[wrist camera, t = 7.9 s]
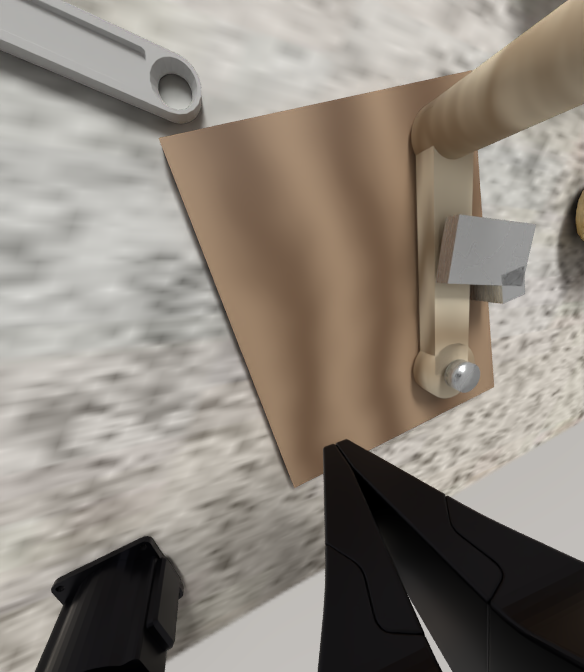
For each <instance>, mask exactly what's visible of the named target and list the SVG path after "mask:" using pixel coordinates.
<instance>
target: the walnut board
mask: <svg viewBox="0 0 584 672" xmlns="http://www.w3.org/2000/svg"><path fill="white" fill-rule="evenodd" d="M471 72H472V70H471V71H466V72H462V73H457V74H452V75H448V76H443V77H439V78H434V79H429V80H425V81H420V82H415V83H411V84H406V85H402V86H397V87H392V88H388V89H383V90H378V91H374V92H369V93H365V94H360V95H355V96H351V97H346V98H341V99H337V100H332V101H328V102H323V103H318V104H314V105H309V106H304V107H300V108H295V109H291V110H286V111H281V112H277V113H272V114H267V115H263V116H258V117H254V118H249V119H244V120H240V121H235V122H230V123H226V124H221V125H217V126H212V127H207V128H203V129H198V130H193V131H189V132H184V133H180V134H175V135H170V136H166V137H161V138H159V140H160V143H161V146H162V148H163V151H164V153H165V156H166V158H167V161H168V164H169V166H170V169H171V171H172V174H173V177H174V179H175V182H176V184H177V187H178V189H179V192H180V195H181V197H182V200H183V202H184V205H185V207H186V210H187V213H188V215H189V218H190V220H191V223H192V226H193V228H194V231H195V233H196V236H197V238H198V241H199V244H200V246H201V249H202V251H203V254H204V256H205V259H206V262H207V264H208V267H209V269H210V272H211V275H212V277H213V280H214V282H215V285H216V287H217V290H218V293H219V295H220V298H221V300H222V303H223V305H224V308H225V311H226V313H227V316H228V318H229V321H230V323H231V326H232V329H233V331H234V334H235V336H236V339H237V342H238V344H239V347H240V349H241V352H242V354H243V357H244V360H245V362H246V365H247V367H248V370H249V372H250V375H251V378H252V380H253V383H254V385H255V388H256V391H257V393H258V396H259V398H260V401H261V403H262V406H263V409H264V411H265V414H266V416H267V419H268V421H269V424H270V427H271V429H272V432H273V434H274V437H275V440H276V442H277V445H278V447H279V450H280V452H281V455H282V458H283V460H284V463H285V465H286V468H287V470H288V473H289V476H290V478H291V481H292V483H293V486H294V488H295V487H297V486H299V485H301V484H303V483H305V482H307V481H309V480H311V479H313V478H315V477H317V476H319V475H321V474H323V447H325V446H328V445H330V444H336V442H339V441H342V440H344V439H348V440H350V441H352V442H354V443H355V444H357V445H359V446H361V447H362V448H364V449H366V450H370V449H372V448H374V447H376V446H378V445H380V444H382V443H384V442H386V441H388V440H390V439H392V438H394V437H396V436H398V435H400V434H402V433H404V432H406V431H408V430H410V429H412V428H414V427H416V426H418V425H420V424H422V423H424V422H426V421H428V420H430V419H432V418H434V417H436V416H438V415H439V414H441V413H443V412H445V411H447V410H449V409H451V408H453V407H455V406H457V405H459V404H461V403H463V402H465V401H467V400H469V399H471V398H473V397H475V396H477V395H479V394H481V393H483V392H485V391H487V390H489V389H491V388H493V387H494V379H493V365H492V350H491V336H490V322H489V307H488V302H485V301H476V300H469V334H468V347H469V348H470V349H471V351H472V353H473V355H474V359H475V364H476V365H477V366H478V367H479V369H480V379H479V381H478V383H477V385H476V386H475V387H474V388H473V389H472V390H471V391H469V392H466V393H462V392H460V393H459V394H457V395H455V396H453V397H450V398H439V397H437V396H435V395H433V394H432V393H430V392H428V391H426V390H424V389H423V388H421V387H420V386H419V385H418V384H417V383H416V381H415V378H414V373H413V368H414V363H415V360H416V357H417V355H418V353H419V352H420V314H419V272H418V230H417V188H416V155H415V153H414V150H413V147H412V141H411V132H412V126H413V123H414V120H415V118H416V116H417V114H418V113H419V112H420V110H421V109H422V108H424V107H425V106H426V105H428V104H429V103H430V102H432V101H433V100H434V99H436V98H437V97H438V96H440V95H441V94H442V93H444V92H445V91H446V90H448V89H449V88H451V87H452V86H453V85H455V84H456V83H457V82H459V81H460V80H461V79H463V78H464V77H465V76H467V75H468V74H469V73H471ZM472 216H476V217H482V207H481V193H480V178H479V164H478V150H477V151H474V156H473V191H472Z"/></svg>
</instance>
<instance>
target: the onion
mask: <svg viewBox="0 0 584 672" xmlns="http://www.w3.org/2000/svg"><path fill="white" fill-rule="evenodd" d="M576 228H577V233H578V235H579V236H580V238H581V239H582V240H583V241H584V190H583V191H582V194H581V196H580V198H579V200H578V204H577V209H576Z"/></svg>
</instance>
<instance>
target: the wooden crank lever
mask: <svg viewBox="0 0 584 672" xmlns="http://www.w3.org/2000/svg"><path fill="white" fill-rule="evenodd" d="M582 104H584V0H568V1H566V2H565V3H563V4H562V5H561V6H559V7H558V8H557V9H555V10H554V11H553V12H551V13H550V14H549V15H547V16H546V17H545V18H543V19H542V20H541V21H539V22H538V23H537V24H535V25H534V26H533V27H531V28H530V29H529V30H527V31H526V32H524V33H523V34H522V35H520V36H519V37H518V38H516V39H515V40H514V41H512V42H511V43H510V44H508V45H507V46H506V47H504V48H503V49H502V50H500V51H499V52H498V53H496V54H495V55H494V56H492V57H491V58H490V59H488V60H487V61H485V62H484V63H483V64H481V65H480V66H479V67H477V68H476V69H475V70H473V71H472V72H471V73H469V74H468V75H467V76H465V77H464V78H463V79H461V80H460V81H459V82H457V83H456V84H455V85H453V86H452V87H451V88H449V89H448V90H446V91H445V92H444V93H442V94H441V95H440V96H438V97H437V98H436V99H434V100H433V101H432V102H430V103H429V104H428V105H426V106H425V107H424V108H422V109H421V110H420V112H419V113H418V114H417V116H416V118H415V120H414V123H413V126H412V132H411V141H412V147H413V150H414V153H415V155H416V188H417V230H418V272H419V314H420V352H419V353H418V355H417V357H416V360H415V363H414V368H413V373H414V378H415V381H416V383H417V384H418V385H419V386H420V387H421V388H423V389H424V390H426V391H428V392H430V393H432V394H433V395H435V396H437V397H439V398H450V397H453V396H455V395H457V394H459V393H460V391H458V390H456V389H453V388H451V387H449V386H448V385H447V384H446V383H445V380H444V374H445V370H446V368H447V367H448V365H449V364H450V363H451V362H452V361H454V360H457V359H462V360H465V361H468V362H471V363H473V364H475V359H474V355H473V353H472V351H471V349H470V348H469V347H468V334H469V298H470V284H447V283H435V282H436V276H437V270H438V263H439V257H440V251H441V244H442V238H443V232H444V225H445V219H446V217H450V216H454V215H459V214H460V215H468V216H472V191H473V156H474V151H477V150H479V149H481V148H483V147H486V146H488V145H490V144H493V143H495V142H497V141H499V140H502V139H504V138H506V137H509V136H511V135H513V134H515V133H518V132H520V131H522V130H525V129H527V128H529V127H531V126H534V125H536V124H538V123H541V122H543V121H545V120H547V119H550V118H552V117H554V116H557V115H559V114H561V113H563V112H566V111H568V110H570V109H573V108H575V107H577V106H579V105H582Z"/></svg>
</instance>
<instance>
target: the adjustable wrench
mask: <svg viewBox="0 0 584 672" xmlns="http://www.w3.org/2000/svg"><path fill="white" fill-rule="evenodd" d="M0 50H1V51H4V52H6V53H8V54H11V55H13V56H16V57H18V58H20V59H23V60H25V61H28V62H30V63H32V64H35V65H37V66H39V67H42V68H44V69H47V70H49V71H51V72H54V73H56V74H59V75H61V76H63V77H66V78H68V79H71V80H73V81H75V82H78V83H80V84H83V85H85V86H87V87H90V88H92V89H95V90H97V91H99V92H102V93H104V94H107V95H109V96H111V97H114V98H116V99H119V100H121V101H123V102H126V103H128V104H131V105H133V106H135V107H138V108H140V109H143V110H145V111H147V112H150V113H152V114H155V115H157V116H159V117H162V118H164V119H166V120H169V121H171V122H175V123H179V124H182V123H189V122H190V121H192V120H194V119H195V118H196V117H197V115H198V114H199V112H200V109H201V99H202V97H201V83H200V79H199V76H198V74H197V73H196V71H195V69H194V67H193V66H192V65H191V64H190V63H189V62H188V61H187V60H186V59H185V58H183V57H182V56H180V55H179V54H177V53H175V52H172V51H170V50H168V49H166V48H164V47H162V46H160V45H157V44H155V43H153V42H151V41H149V40H147V39H144V38H142V37H140V36H138V35H136V34H134V33H132V32H129V31H127V30H125V29H123V28H121V27H119V26H117V25H114V24H112V23H110V22H108V21H106V20H104V19H102V18H99V17H97V16H95V15H93V14H91V13H89V12H87V11H84V10H82V9H80V8H78V7H76V6H74V5H71V4H69V3H67V2H65V1H63V0H0ZM166 74H176V75H179V76H181V77H182V78H184V79H185V80H186V81H187V82H188V84H189V86H190V87H191V91H192V101H191V104H190V105H189V107H188V108H186V109H181V110H177V109H173V108H170V107H168V106H167V105H166V104H165V103H164V102H163V100H162V99H161V97H160V94H159V91H158V83H159V80H160V78H161V77H162V76H164V75H166Z"/></svg>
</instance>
